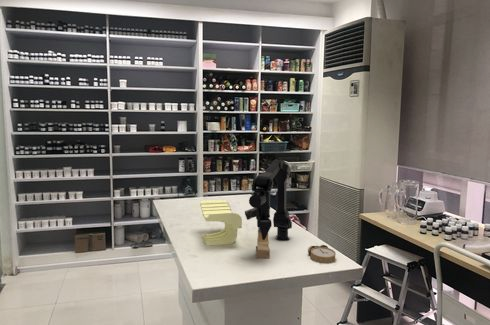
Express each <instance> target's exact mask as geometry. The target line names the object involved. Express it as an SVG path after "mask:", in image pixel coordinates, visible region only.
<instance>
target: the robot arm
mask: <svg viewBox="0 0 490 325" xmlns="http://www.w3.org/2000/svg"><path fill="white" fill-rule="evenodd" d="M291 169H292V168H291V166H290V165H289V164H287V163H285V162H284V161H281V160H271V164H270V165H269V166H268V168H266V170H265V171H264V172H262V173H259V174H258V175H257V176H256V177H255V179H254V182H253V186H252V189H251V191H252V192H253V194H252V195H250V197H249V199H248V203H249V205H250V207H252V208H250V209H246V210H245V211H244V215H245V219H246V220H248V221H249V220H251V219H253V218H255V219H256V226H257V229H258V228H260V229H261V234H262V240H265V238H266V236H267V234H268V235H269V232H270V229H271V228H272V223H273V228H276V229H277V231H276V235H275V239H276V240H277V241H290V237H289V230H290V229H292V228H293V221H292V220H291V217H290V212H289V210H288V209H287V181H288V180H289V178H290V176H291V175H290V174H291V173H292V172H291V171H292V170H291ZM274 180H276V183H277V184H276V186H277V188H276V196H277V197H276V200H277V202H276V204H277V206H276V210H275V212H274V214H273V219H272V220H271V219H270V218H271V215H270V214H271V213H270V212H271V210H270V209H271V191H272V189H273V185H274Z"/></svg>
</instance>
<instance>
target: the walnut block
mask: <svg viewBox="0 0 490 325" xmlns="http://www.w3.org/2000/svg"><path fill="white" fill-rule="evenodd" d="M255 258H256V259H257V260H265V259H266V260H270V258H271V252H270V248H269V250H258V248H257V245H256V246H255Z"/></svg>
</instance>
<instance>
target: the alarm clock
mask: <svg viewBox="0 0 490 325" xmlns="http://www.w3.org/2000/svg"><path fill="white" fill-rule="evenodd" d="M307 253H308V255H309V256H310V260H312V261H313V262H315V263H318V262H319V263H318V264H331V263H334V262H335V261H337V258H336V251H335V250H334V249H333V248H329V247H328V246H327V245H326V244H321V245H310V246H309V247H308V248H307Z"/></svg>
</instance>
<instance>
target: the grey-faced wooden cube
mask: <svg viewBox="0 0 490 325" xmlns="http://www.w3.org/2000/svg"><path fill="white" fill-rule="evenodd" d="M257 240H258V242H268V240H269V233H268V234H267V236H266V238H265V240H262V234H261V229H260V228H258V227H257Z"/></svg>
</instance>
